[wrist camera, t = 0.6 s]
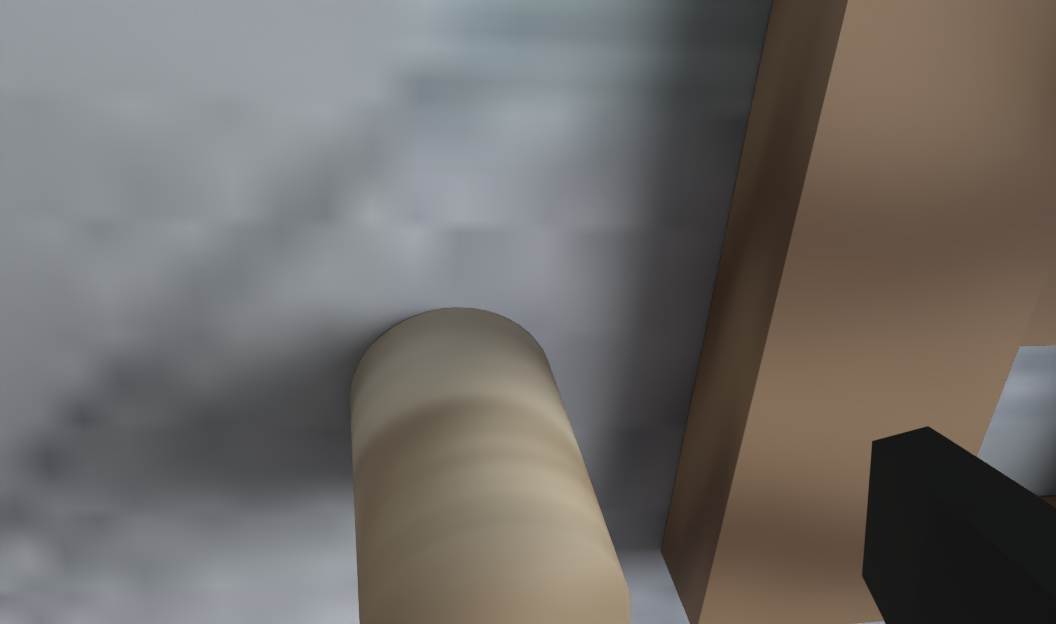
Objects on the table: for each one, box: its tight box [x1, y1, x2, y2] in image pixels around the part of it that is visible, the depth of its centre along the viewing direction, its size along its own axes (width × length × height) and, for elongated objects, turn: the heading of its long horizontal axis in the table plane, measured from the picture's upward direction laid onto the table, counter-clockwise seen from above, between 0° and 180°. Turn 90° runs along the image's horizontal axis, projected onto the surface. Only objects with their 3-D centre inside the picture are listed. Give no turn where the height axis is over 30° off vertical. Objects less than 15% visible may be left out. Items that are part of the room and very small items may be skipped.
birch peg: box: [350, 308, 631, 624], centre depth 17 cm, size 4×4×6 cm
